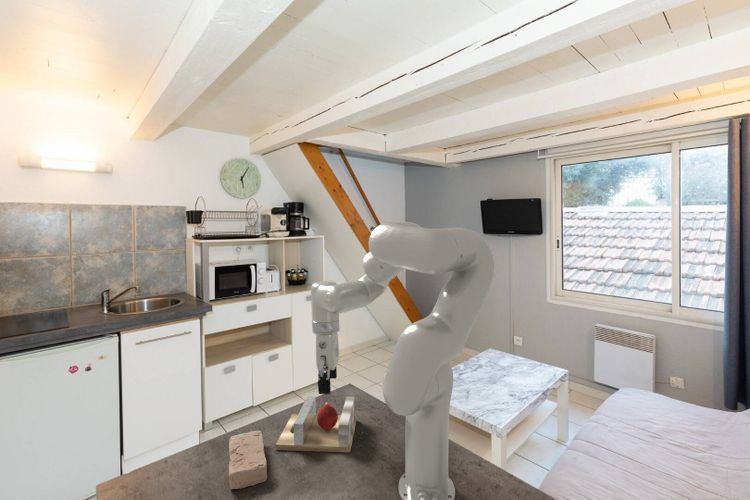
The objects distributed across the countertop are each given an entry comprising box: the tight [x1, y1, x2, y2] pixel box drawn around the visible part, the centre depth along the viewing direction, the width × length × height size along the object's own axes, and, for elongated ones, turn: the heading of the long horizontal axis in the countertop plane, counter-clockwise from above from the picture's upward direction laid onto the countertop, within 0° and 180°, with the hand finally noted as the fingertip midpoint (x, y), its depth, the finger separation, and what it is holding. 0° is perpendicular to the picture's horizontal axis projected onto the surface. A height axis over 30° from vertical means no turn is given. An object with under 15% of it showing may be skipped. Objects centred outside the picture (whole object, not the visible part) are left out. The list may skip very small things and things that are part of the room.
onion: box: [316, 402, 338, 430], centre depth 100 cm, size 6×6×8 cm
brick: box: [228, 430, 268, 490], centre depth 88 cm, size 16×8×5 cm, turn 22°
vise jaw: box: [290, 395, 317, 445], centre depth 101 cm, size 15×4×6 cm, turn 177°
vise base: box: [275, 396, 357, 453], centre depth 101 cm, size 15×20×8 cm
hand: (328, 385), depth 99 cm, fingers open, 9 cm apart
